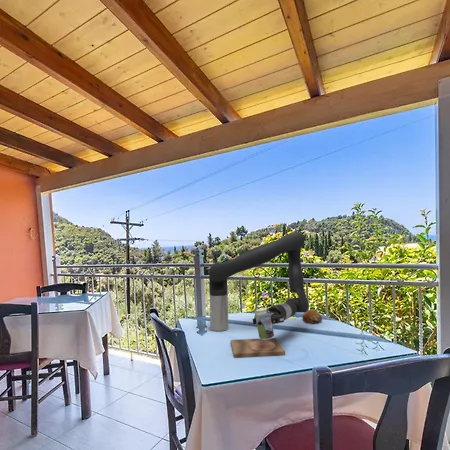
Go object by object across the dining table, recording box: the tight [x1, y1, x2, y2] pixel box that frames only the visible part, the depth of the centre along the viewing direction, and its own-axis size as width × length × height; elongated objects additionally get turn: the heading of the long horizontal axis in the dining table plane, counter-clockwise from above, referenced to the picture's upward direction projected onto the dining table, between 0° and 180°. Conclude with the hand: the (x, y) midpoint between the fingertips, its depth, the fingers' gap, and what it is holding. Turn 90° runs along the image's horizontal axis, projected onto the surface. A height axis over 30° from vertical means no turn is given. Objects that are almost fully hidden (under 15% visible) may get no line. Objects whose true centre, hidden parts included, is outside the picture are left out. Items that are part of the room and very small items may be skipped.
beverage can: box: [254, 307, 275, 340], centre depth 124 cm, size 6×7×12 cm
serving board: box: [230, 337, 286, 359], centre depth 126 cm, size 20×16×2 cm
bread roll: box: [302, 309, 323, 325], centre depth 164 cm, size 10×10×8 cm
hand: (257, 322), depth 124 cm, fingers closed on beverage can, 3 cm apart
